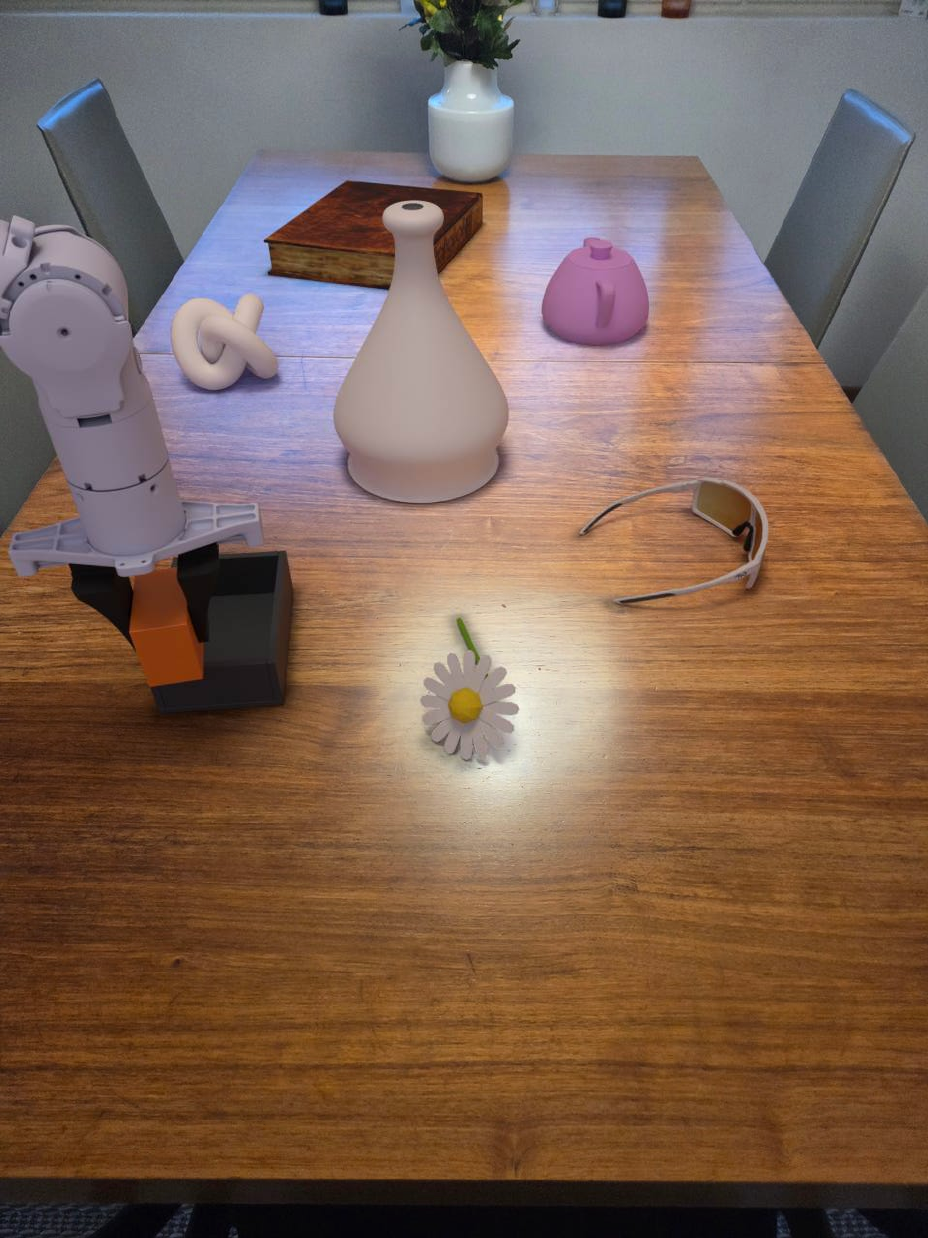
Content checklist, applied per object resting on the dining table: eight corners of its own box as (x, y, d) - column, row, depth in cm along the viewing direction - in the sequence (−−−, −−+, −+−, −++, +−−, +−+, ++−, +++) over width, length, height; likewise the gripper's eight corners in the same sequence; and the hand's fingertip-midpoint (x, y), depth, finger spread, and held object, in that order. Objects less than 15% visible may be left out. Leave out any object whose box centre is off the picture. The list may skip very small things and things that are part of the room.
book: (421, 293, 123) (419, 257, 120) (268, 274, 129) (262, 239, 125) (483, 225, 144) (483, 192, 141) (348, 211, 150) (346, 179, 146)
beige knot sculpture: (309, 373, 105) (299, 300, 99) (231, 412, 98) (215, 336, 92) (247, 348, 111) (234, 276, 105) (169, 382, 104) (150, 309, 98)
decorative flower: (437, 557, 67) (502, 694, 57) (492, 588, 71) (563, 722, 60) (374, 625, 70) (426, 768, 59) (431, 652, 74) (489, 790, 63)
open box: (159, 713, 65) (144, 671, 62) (185, 598, 75) (173, 556, 72) (284, 705, 66) (274, 662, 63) (293, 591, 75) (286, 550, 72)
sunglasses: (792, 594, 74) (799, 548, 71) (622, 637, 74) (621, 593, 70) (723, 501, 85) (726, 457, 81) (573, 538, 84) (570, 496, 81)
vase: (421, 531, 82) (408, 259, 65) (304, 462, 91) (266, 207, 74) (541, 458, 91) (557, 204, 74) (425, 402, 100) (415, 164, 83)
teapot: (634, 293, 123) (644, 213, 116) (657, 357, 108) (670, 270, 101) (535, 293, 123) (539, 213, 116) (545, 357, 108) (550, 271, 101)
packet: (149, 687, 57) (128, 632, 54) (153, 627, 62) (134, 572, 58) (203, 679, 58) (186, 623, 55) (203, 619, 62) (188, 564, 59)
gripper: (-33, 520, 46) (51, 697, 55) (248, 486, 48) (284, 661, 57) (-9, 451, 51) (65, 623, 60) (244, 422, 53) (278, 593, 62)
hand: (172, 637), depth 59 cm, fingers closed on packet, 3 cm apart
